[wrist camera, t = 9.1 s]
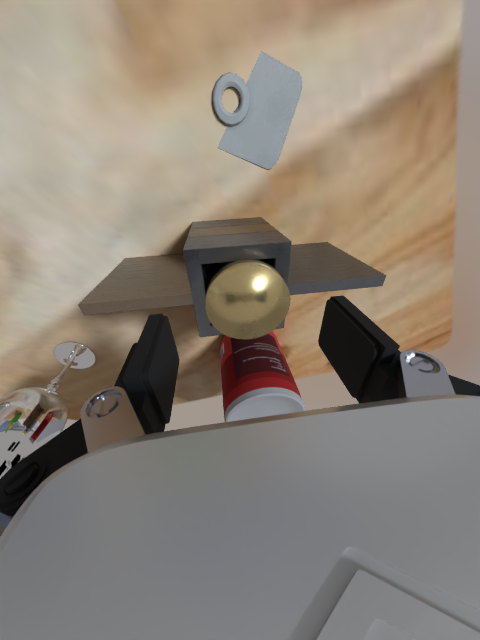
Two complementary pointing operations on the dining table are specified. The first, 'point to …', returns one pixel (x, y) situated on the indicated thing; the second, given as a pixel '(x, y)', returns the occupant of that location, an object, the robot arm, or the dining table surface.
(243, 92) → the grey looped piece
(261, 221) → the hinge leaf
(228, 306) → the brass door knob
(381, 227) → the dining table surface
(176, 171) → the dining table surface
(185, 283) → the hinge leaf
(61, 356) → the wineglass
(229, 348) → the canned food
